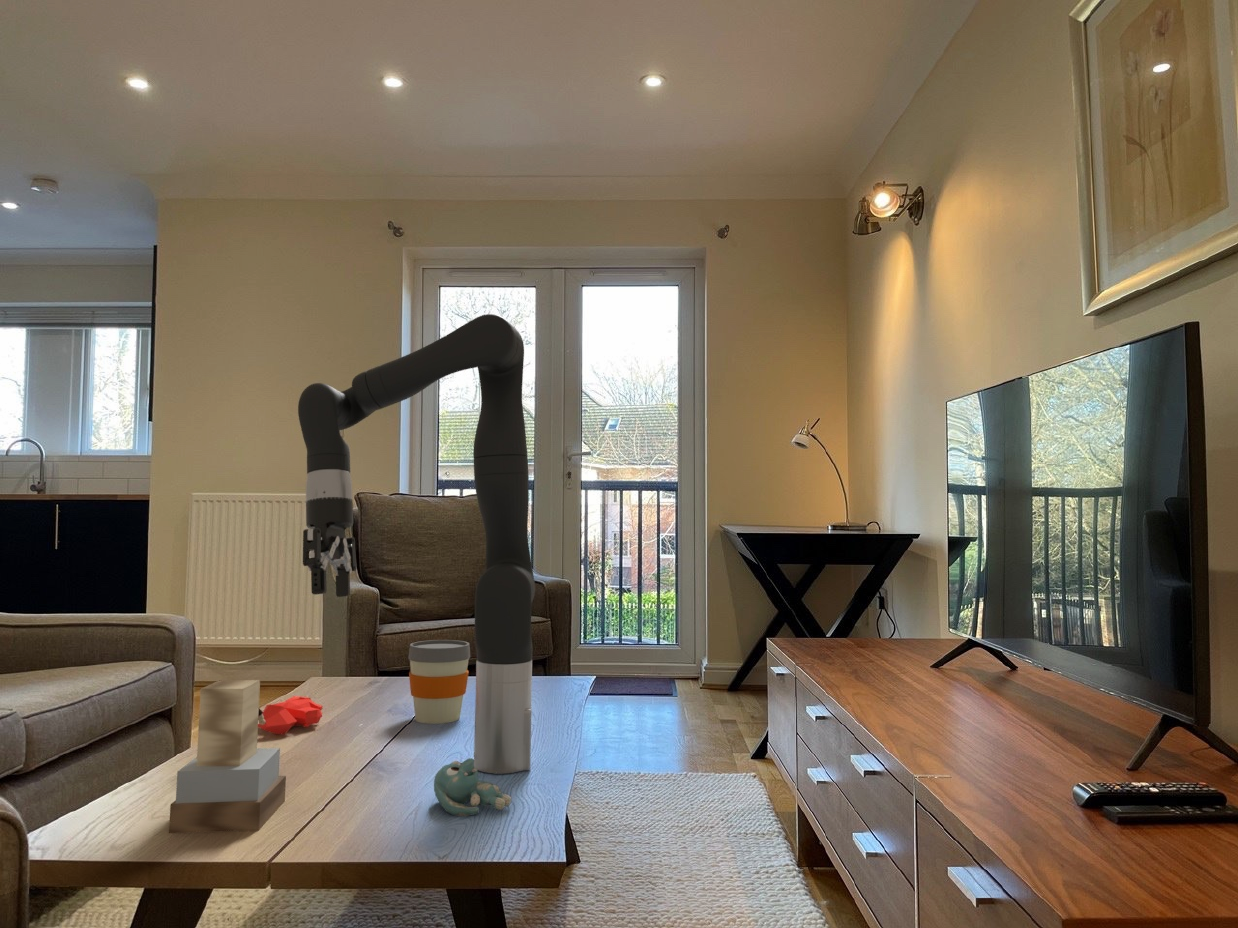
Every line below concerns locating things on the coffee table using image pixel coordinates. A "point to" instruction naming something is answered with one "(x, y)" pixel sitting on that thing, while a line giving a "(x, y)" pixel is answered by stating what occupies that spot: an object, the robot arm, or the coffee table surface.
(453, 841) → the coffee table surface
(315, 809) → the coffee table surface
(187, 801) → the tower top
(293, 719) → the animal figurine
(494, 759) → the robot arm
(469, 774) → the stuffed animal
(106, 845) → the coffee table surface
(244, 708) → the oak block
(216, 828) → the tower base
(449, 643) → the reusable coffee cup
